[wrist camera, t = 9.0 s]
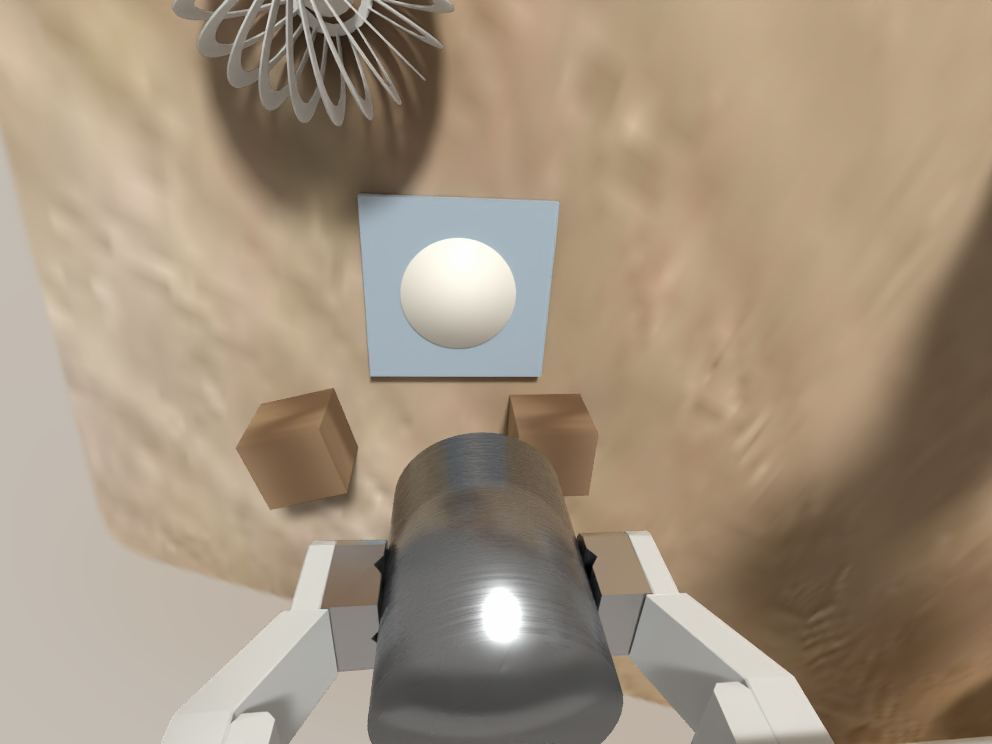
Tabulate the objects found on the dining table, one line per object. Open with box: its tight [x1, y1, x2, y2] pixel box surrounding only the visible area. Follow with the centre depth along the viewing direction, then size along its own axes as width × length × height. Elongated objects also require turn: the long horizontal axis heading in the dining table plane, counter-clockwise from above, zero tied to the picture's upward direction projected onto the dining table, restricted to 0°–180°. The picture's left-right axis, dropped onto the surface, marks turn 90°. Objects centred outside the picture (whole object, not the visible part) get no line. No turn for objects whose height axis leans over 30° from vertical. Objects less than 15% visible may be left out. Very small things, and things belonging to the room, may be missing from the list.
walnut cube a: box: [507, 394, 598, 496], centre depth 28 cm, size 4×4×4 cm
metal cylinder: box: [368, 433, 623, 744], centre depth 10 cm, size 4×4×5 cm
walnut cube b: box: [236, 388, 358, 510], centre depth 27 cm, size 4×4×4 cm
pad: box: [358, 193, 560, 377], centre depth 25 cm, size 9×9×1 cm
